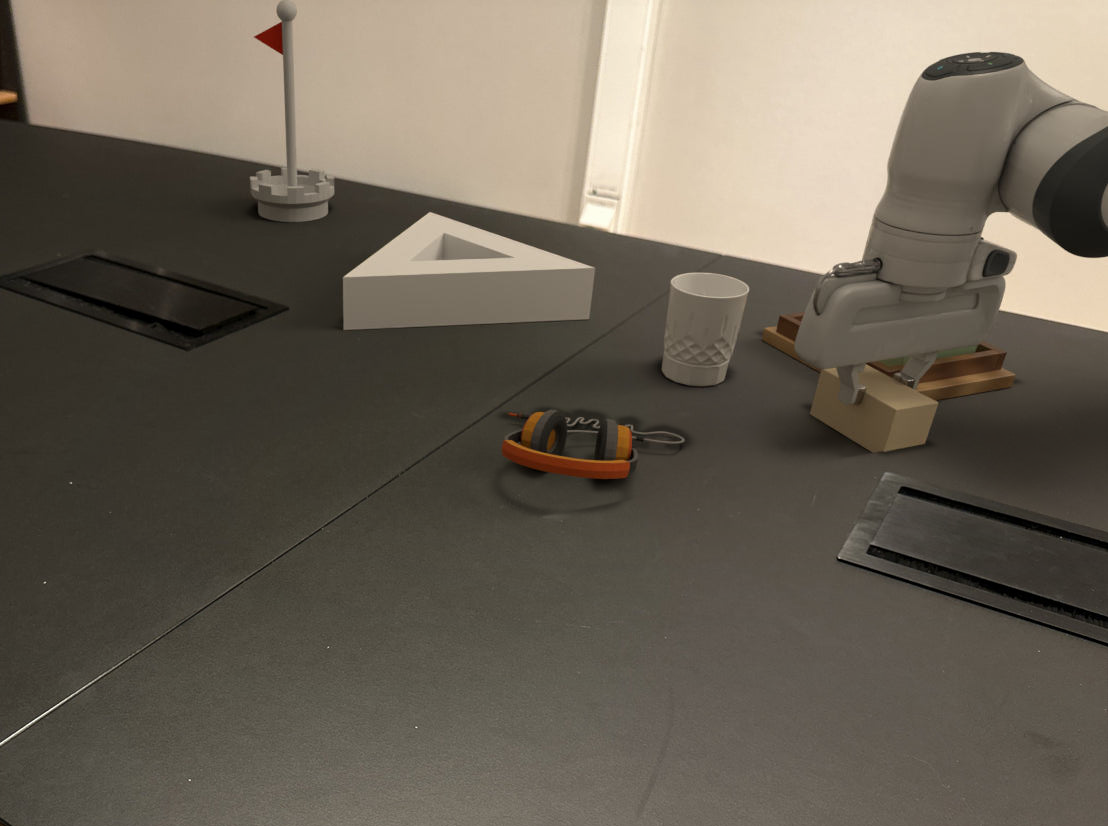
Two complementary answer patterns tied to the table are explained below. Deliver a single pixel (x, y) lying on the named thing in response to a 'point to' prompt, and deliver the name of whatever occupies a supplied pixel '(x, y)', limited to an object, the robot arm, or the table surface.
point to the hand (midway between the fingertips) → (876, 397)
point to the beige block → (875, 411)
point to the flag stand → (289, 146)
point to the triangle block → (462, 281)
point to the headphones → (548, 439)
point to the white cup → (702, 327)
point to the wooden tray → (939, 379)
